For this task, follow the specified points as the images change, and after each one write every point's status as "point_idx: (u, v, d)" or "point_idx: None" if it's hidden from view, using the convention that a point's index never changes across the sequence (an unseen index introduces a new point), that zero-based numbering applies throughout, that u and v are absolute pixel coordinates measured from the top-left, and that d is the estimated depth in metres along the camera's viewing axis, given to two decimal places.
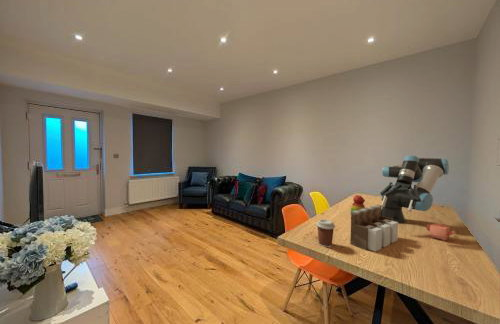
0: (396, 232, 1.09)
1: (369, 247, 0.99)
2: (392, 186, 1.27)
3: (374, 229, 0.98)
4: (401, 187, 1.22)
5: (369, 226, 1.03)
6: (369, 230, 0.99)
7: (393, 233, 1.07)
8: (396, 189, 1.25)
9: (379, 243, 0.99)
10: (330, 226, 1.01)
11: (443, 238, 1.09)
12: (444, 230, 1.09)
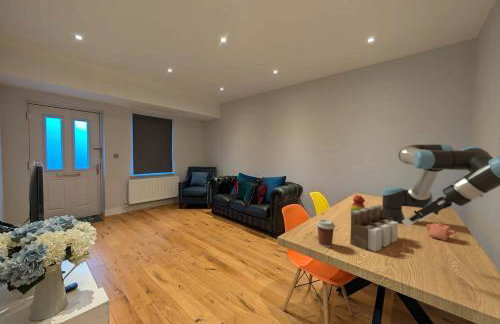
0: (396, 232, 1.09)
1: (369, 247, 0.99)
2: None
3: (374, 229, 0.98)
4: None
5: (369, 226, 1.03)
6: (369, 230, 0.99)
7: (393, 233, 1.07)
8: None
9: (379, 243, 0.99)
10: (330, 226, 1.01)
11: (443, 238, 1.09)
12: (444, 230, 1.09)
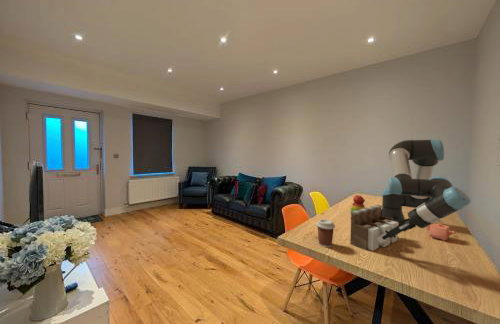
0: None
1: None
2: None
3: (372, 228, 0.99)
4: None
5: (367, 225, 1.03)
6: None
7: None
8: (401, 224, 0.89)
9: (377, 242, 1.00)
10: (330, 226, 1.01)
11: (443, 238, 1.09)
12: (444, 230, 1.09)
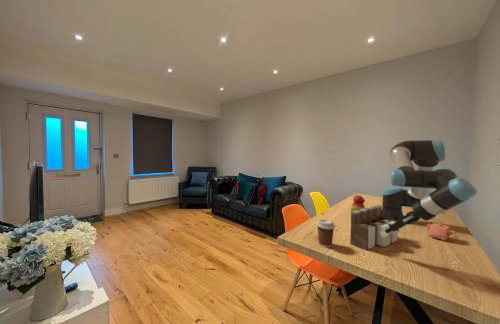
0: (396, 232, 1.09)
1: None
2: None
3: (368, 227, 1.01)
4: None
5: (363, 224, 1.05)
6: None
7: (393, 233, 1.07)
8: (404, 217, 0.87)
9: (372, 241, 1.01)
10: (330, 226, 1.01)
11: (443, 238, 1.09)
12: (444, 230, 1.09)
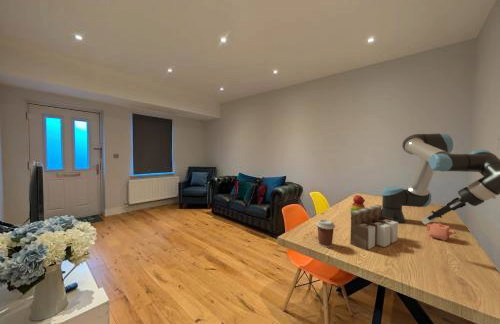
0: (396, 232, 1.09)
1: None
2: None
3: (368, 227, 1.01)
4: None
5: (363, 224, 1.05)
6: None
7: (393, 233, 1.07)
8: (450, 203, 0.88)
9: (372, 241, 1.01)
10: (330, 226, 1.01)
11: (443, 238, 1.09)
12: (444, 230, 1.09)
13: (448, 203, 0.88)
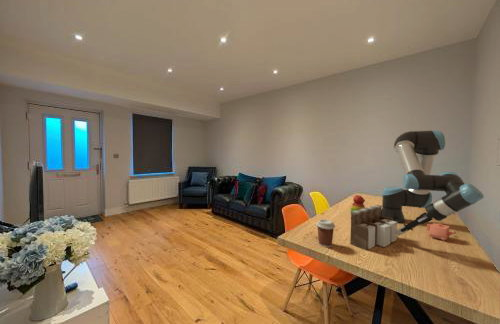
0: None
1: None
2: None
3: (368, 227, 1.01)
4: (426, 220, 0.97)
5: (363, 224, 1.05)
6: None
7: (392, 233, 1.07)
8: None
9: (372, 241, 1.01)
10: (330, 226, 1.01)
11: (443, 238, 1.09)
12: (444, 230, 1.09)
13: (417, 217, 0.98)
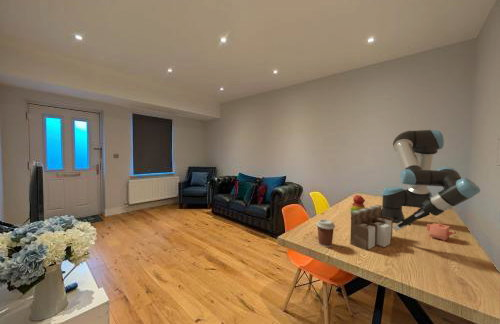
0: (390, 230, 1.11)
1: None
2: None
3: (368, 227, 1.01)
4: (424, 215, 0.97)
5: (363, 224, 1.05)
6: None
7: None
8: None
9: (372, 241, 1.01)
10: (330, 226, 1.01)
11: (443, 238, 1.09)
12: (444, 230, 1.09)
13: (414, 212, 0.98)
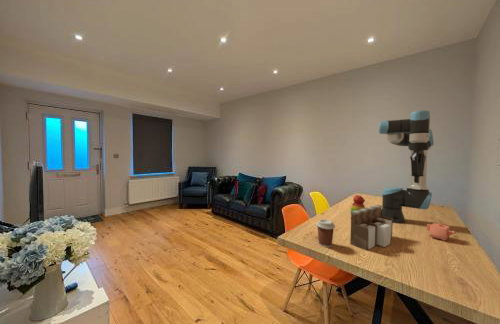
0: (390, 230, 1.11)
1: None
2: None
3: (368, 227, 1.01)
4: None
5: (363, 224, 1.05)
6: None
7: None
8: None
9: (372, 241, 1.01)
10: (330, 226, 1.01)
11: (443, 238, 1.09)
12: (444, 230, 1.09)
13: None
